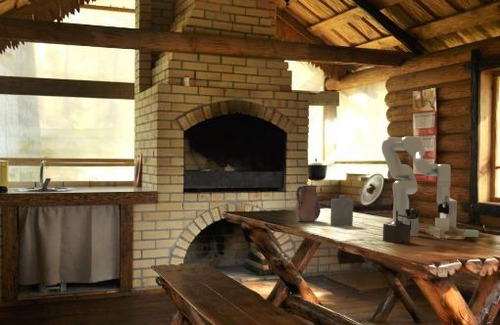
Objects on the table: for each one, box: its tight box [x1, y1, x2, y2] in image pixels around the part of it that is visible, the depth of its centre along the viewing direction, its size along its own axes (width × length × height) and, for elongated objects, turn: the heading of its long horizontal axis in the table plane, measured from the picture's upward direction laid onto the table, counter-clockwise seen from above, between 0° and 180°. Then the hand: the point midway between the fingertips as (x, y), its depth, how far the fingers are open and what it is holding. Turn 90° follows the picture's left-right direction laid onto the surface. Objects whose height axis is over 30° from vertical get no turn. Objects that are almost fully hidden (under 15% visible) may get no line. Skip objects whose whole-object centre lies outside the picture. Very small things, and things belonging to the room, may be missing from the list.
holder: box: [462, 228, 480, 238], centre depth 337 cm, size 12×8×4 cm, turn 90°
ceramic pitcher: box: [294, 184, 321, 223], centre depth 391 cm, size 18×21×25 cm
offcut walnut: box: [444, 230, 452, 235], centre depth 329 cm, size 4×4×2 cm
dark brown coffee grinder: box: [382, 208, 418, 244], centre depth 304 cm, size 16×11×18 cm
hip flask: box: [329, 194, 354, 227], centre depth 371 cm, size 16×4×20 cm, turn 110°
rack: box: [425, 224, 466, 240], centre depth 334 cm, size 14×26×5 cm, turn 0°
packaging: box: [439, 197, 458, 228], centre depth 364 cm, size 30×6×20 cm, turn 168°
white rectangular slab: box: [434, 217, 449, 233], centre depth 338 cm, size 8×2×10 cm, turn 90°
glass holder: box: [402, 208, 420, 237], centre depth 331 cm, size 9×14×15 cm, turn 131°
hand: (443, 213), depth 338 cm, fingers open, 9 cm apart
